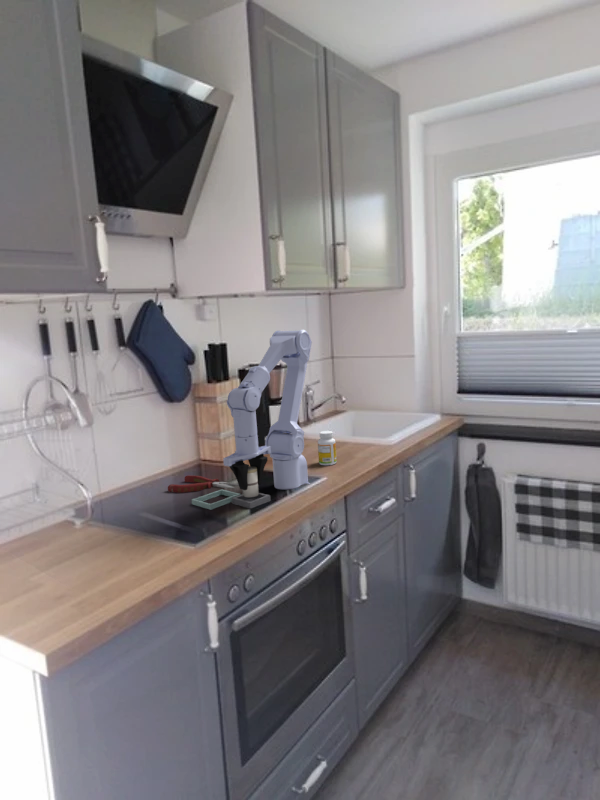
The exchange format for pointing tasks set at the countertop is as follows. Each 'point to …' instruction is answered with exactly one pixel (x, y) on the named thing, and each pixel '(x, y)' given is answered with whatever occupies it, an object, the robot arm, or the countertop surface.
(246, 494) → the cylinder
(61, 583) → the countertop surface
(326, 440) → the supplement bottle
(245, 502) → the socket block
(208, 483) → the pliers
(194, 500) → the teal rectangular frame
